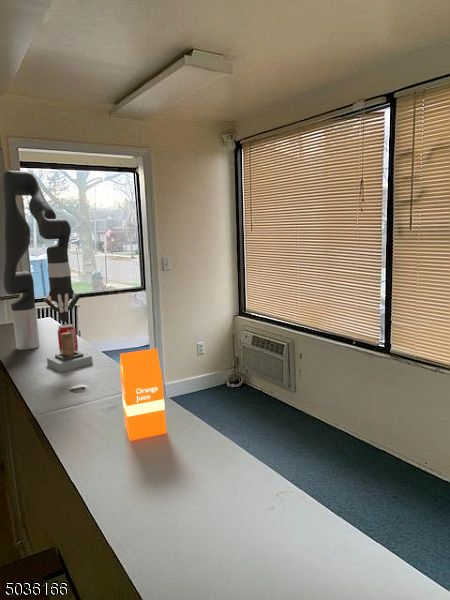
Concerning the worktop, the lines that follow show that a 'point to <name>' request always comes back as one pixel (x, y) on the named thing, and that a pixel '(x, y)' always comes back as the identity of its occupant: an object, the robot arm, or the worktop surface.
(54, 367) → the socket
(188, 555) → the worktop surface
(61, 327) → the soda can
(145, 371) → the orange juice
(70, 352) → the dowel
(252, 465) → the worktop surface
